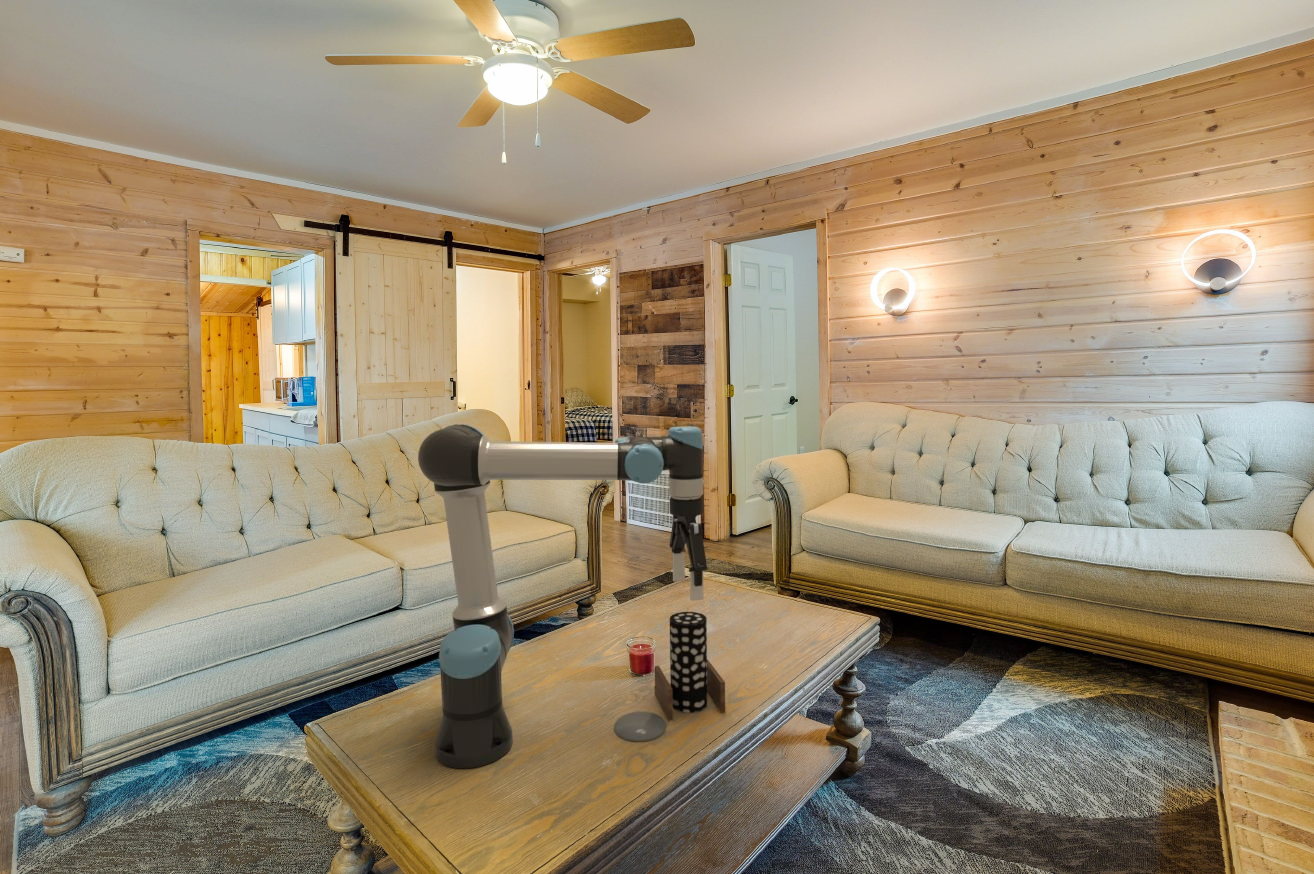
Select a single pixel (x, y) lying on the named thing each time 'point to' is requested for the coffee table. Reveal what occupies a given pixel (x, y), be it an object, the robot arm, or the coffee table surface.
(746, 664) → the coffee table surface
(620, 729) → the coaster
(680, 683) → the spotted tube
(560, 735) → the coffee table surface
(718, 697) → the rack
